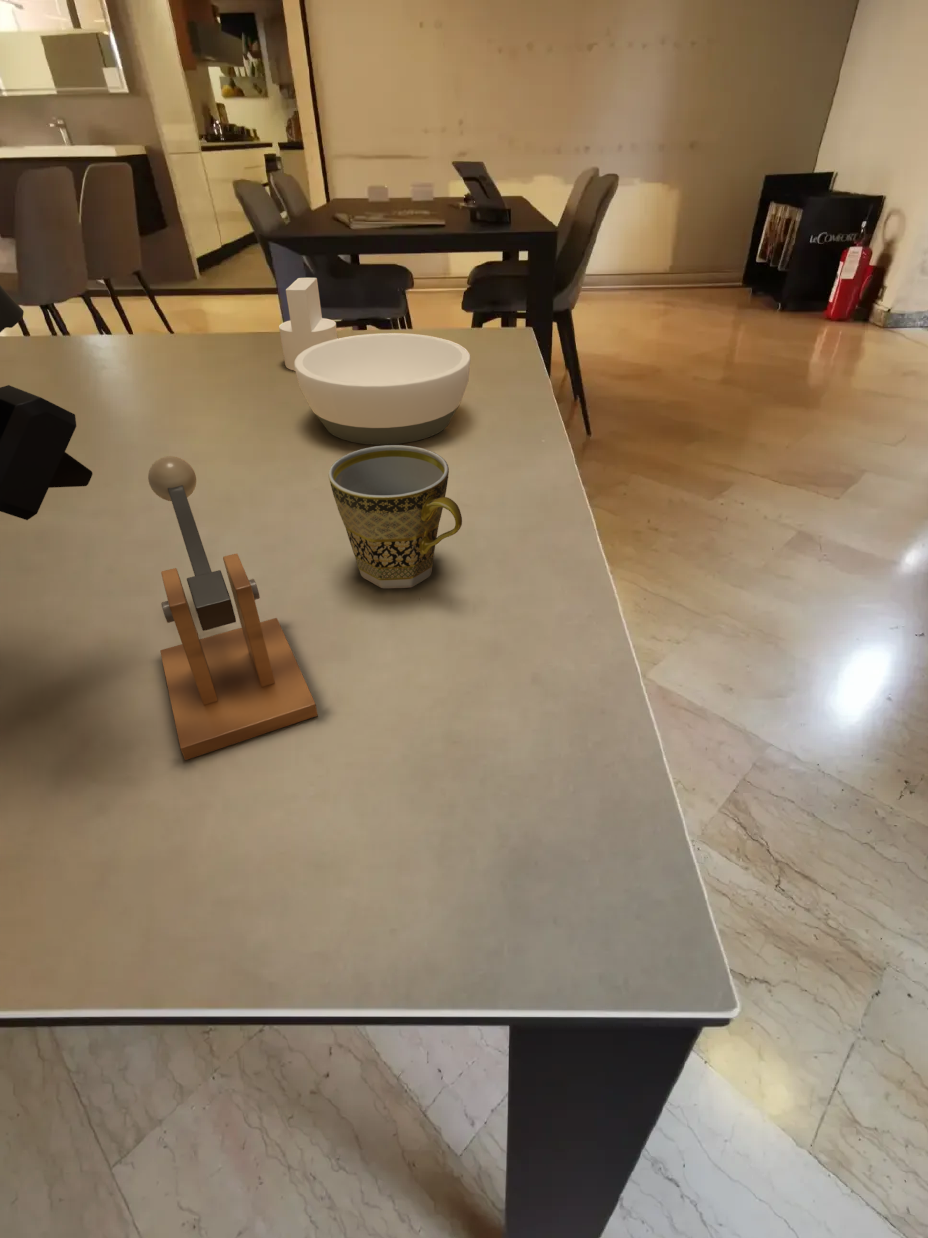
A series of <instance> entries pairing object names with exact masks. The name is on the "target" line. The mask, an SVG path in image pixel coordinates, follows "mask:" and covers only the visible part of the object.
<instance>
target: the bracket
mask: <svg viewBox="0 0 928 1238" xmlns="http://www.w3.org/2000/svg"><path fill="white" fill-rule="evenodd" d="M222 559H223V564H224V567H225V571H226V574H227V578H228V582H229V585H230V589H231V593H232V597H233V600H234V603H235V604H234V605H235V608H236V611H237V616H238V619H239V623H240V627H238V628H235V629H231V630H228V631H227V630H226V631H224V632H221V633H217V634H213V635H209V636H206V637H203V638H200V635H199V633H198V630H197V626H196V624H195V620H194V618H193V614H192V611H191V608H190V605H189V602H188V599H187V596H186V593H185V589H184V587H183V584H182V580H181V577H180V574H179V571H178V568H176V567H174V568H173V567H172V568H170V569H169V568H168V569H165V570H161V571H160V574H161V577H162V578H161V579H162V582H163V586H164V587H163V588H164V591H165V595H166V598H167V600H165V601H161V602H160V603H161V604H160V605H161V608H162V612H163V615H164V618H165V621H166V623H174V624H175V627H176V630H177V633H178V636H179V639H180V642H181V644H177V645H174V646H171V647H167V648H163V649H160V651H159V652H160V658H161V661H162V667H163V672H164V676H165V680H166V686H167V690H168V696H169V700H170V705H171V709H172V714H173V719H174V723H175V728H176V729H175V730H176V734H177V738H178V739H177V740H178V743H179V748H180V751H181V753H182V756H183V758H184V760H185V761H187V760H190V759H193V758H196V757H199V756H202V755H205V754H208V753H211V752H214V751H217V750H221V749H223V748H226V747H229V746H232V745H235V744H238V743H241V742H243V741H247V740H249V739H252V738H253V739H254V738H255V737H259V736H262V735H265V734H268V733H271V732H274V731H276V730H277V731H278V730H279V729H282V728H285V727H288V726H291V725H294V724H297V723H300V722H303V721H306V720H310V719H312V718H314V717H317V716H318V714H319V713H318V709H317V704H316V701H315V700H314V698H313V695H312V693H311V691H310V688H309V686H308V684H307V682H306V679H305V677H304V676H303V673H302V671H301V668H300V666H299V664H298V662H297V659H296V657H295V655H294V652H293V651H292V649H291V646H290V644H289V642H288V640H287V637H286V635H285V633H284V630H283V628H282V626H281V624H280V622H279V620H278V618H277V617H275V618H271V619H268V620H263V621H261V620H260V616H259V612H258V607H257V604H256V600H259V599H260V598H261V596H260V592H259V589H258V585H257V582H256V580H255V579H254V578H252V579H249V577H248V575H247V573H246V571H245V568H244V566H243V563H242V561H241V558H240V556H239V554H238V553H232V554H228V555H225V556H223V557H222Z"/></svg>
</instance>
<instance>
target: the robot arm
mask: <svg viewBox="0 0 928 1238" xmlns="http://www.w3.org/2000/svg"><path fill="white" fill-rule="evenodd" d="M24 314H25V312H24V309H23V308H22V307H21V306H20V305H19V304H18V303H17V302H16V300H14V298H13V297H12V296H11V295H10V294H9V292H7V290H5V289H4V288H3V286H2V285H1V284H0V333H2V332H3V331H4V330H5V329H7V328H8V329H11V328H14V327H15V326H16V325H17V324H18V323H20V321H21V320H22V319H23V317H24ZM76 428H77V420H76V414H75V413H73V412H71V411H69V410H67V409H65V408H64V407H62V406H59V405H58V404H54V403H53V402H51V401H50V400H47V399H45V398H43V397H42V396H39V395H36V394H33V393H30V392H28V391H26V390H23V389H21V388H18V387H15V386H12V385H10V384H8V385H4V386H0V512H1V513H3V514H7V515H10V516H12V517H15V518H19V519H22V520H25V521H28V520H30V519H32V518H33V517H35V516H36V515H38V512H39V510H40V509H41V506H42V505H43V502H44V499H45V498H46V495H47V492H48V490H49V489H51V488H53V489H54V488H76V487H77V488H78V487H87V486H89V484H90V481H91V480H92V477H93V471H92V470H91V469H90V468H88V467H87V466H86V465H84V464H83V463H81V462H80V461H79V460H77V459H76V458H74V457H73V456H72V455H70V454H69V453H67V452H66V451H67V448H68V447H69V444H70V442H71V440H72V437H73V436H74V432H75V431H76Z"/></svg>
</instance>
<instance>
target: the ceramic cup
mask: <svg viewBox="0 0 928 1238" xmlns="http://www.w3.org/2000/svg"><path fill="white" fill-rule="evenodd" d="M449 470H450V468H449V464H448V462H447V461H446V460H445V458H443V456H441V455H439V454H437V453H436V452H435V451H432V450H429V449H426V448H423V447H418V446H412V445H402V444H390V445H374V446H370V447H366V448H361V449H357V450H355V451H352V452H349V453H347V454H344V455H343V456H341V457H340V458H339V459H337V460H336V461H335V462H333V464H332V465H331V466H330V468H329V470H328V480H329V485H330V488H331V492H332V495H333V499H334V501H335V504H336V507H337V510H338V513H339V516H340V518H341V521H342V523H343V526H344V528H345V531H346V534H347V537H348V540H349V543H350V546H351V549H352V550H351V551H352V552H353V555H354V558H355V561H356V565H357V567H358V571H359V573H360V576H361V577H362V578H363V579H364V580H366V581H368V582H370V583H372V584H373V585H375V586H377V587H378V588H381V589H406V588H413V587H415V586H417V585H418V584H420V583H421V582H424V581H425V580H427V579H429V578H430V577H431V575H432V572H433V563H434V557H435V550H436V549H435V548H436V545H438V544H439V543H440V542H442V541H443V540H444V539H446V538H449V537H451V536H453V535H455V534H456V533H458V532H459V531H460V530H461V527H462V526H463V517H462V512H461V510H460V508H459V506H458V504H457V503H456V502H455V501H454V500H453V499H452V498H450V497H447V496H446V495H447V488H448V481H449V473H450V471H449ZM444 509H446V510H447V511H449V512H450V514H451V515H452V517H453V518H454V522H455V525H454V527H453V528H452V529H450V530H448V531H445V532H444V533H441V534H440V535H438V532H439V527H440V522H441V521H440V520H441V518H442V514H443V510H444Z"/></svg>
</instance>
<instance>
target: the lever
mask: <svg viewBox="0 0 928 1238" xmlns="http://www.w3.org/2000/svg"><path fill="white" fill-rule="evenodd" d="M147 481H148V485H149V486H150V489H151V490H152V492H153V493H154V494H155V495H156V496H157V497H158V498H160V499H162V500H165V501H168V502H171V504H172V508H173V511H174V514H175V517H176V521H177V523H178V526H179V530H180V532H181V533H180V534H181V536H182V540H183V543H184V545H185V549H186V552H187V556H188V558H189V563H190V566H191V569H192V571H193V574H194V576H189V577H187V578H186V582H187V585H188V589H189V592H190V595H191V598H192V602H193V605H194V608H195V612H196V614H197V618H198V621H199V624H200V627H201V631H203V632H205V631H208V630H213V629H217V628H219V627H224V626H227V625H230V624H235V623H237V619H236V618H237V617H236V614H235V611H234V607H233V603H232V599H231V596H230V594H229V590H228V588H227V584H226V581H225V579H224V576H223V573H222V570H221V569H219V570H214V571H212V568H211V565H210V563H209V560H208V557H207V554H206V550H205V548H204V545H203V542H202V539H201V536H200V532H199V530H198V527H197V524H196V520H195V518H194V517H195V516H194V515H193V512H192V511H193V510H192V508H191V506H190V503H189V499H188V498H189V497H190V496H191V495H192V494H193V493H194V491H195V489H196V486H197V474H196V472H195V470H194V468H193V467H192V466H191V464H190V463H189V462H188V461H186V460H185V459H183V458H181V457H178V456H173V455H168V456H163V457H160V458H158V459H157V460H155V461H154V462H153V463H152V464H151V466H150V467H149V470H148V473H147Z"/></svg>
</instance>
